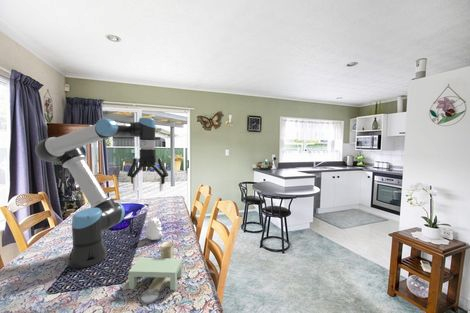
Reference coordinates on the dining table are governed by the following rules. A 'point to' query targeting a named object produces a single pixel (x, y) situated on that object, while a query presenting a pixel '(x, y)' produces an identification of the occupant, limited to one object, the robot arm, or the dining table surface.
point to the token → (150, 296)
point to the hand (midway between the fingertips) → (148, 190)
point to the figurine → (153, 229)
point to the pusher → (165, 252)
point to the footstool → (156, 270)
